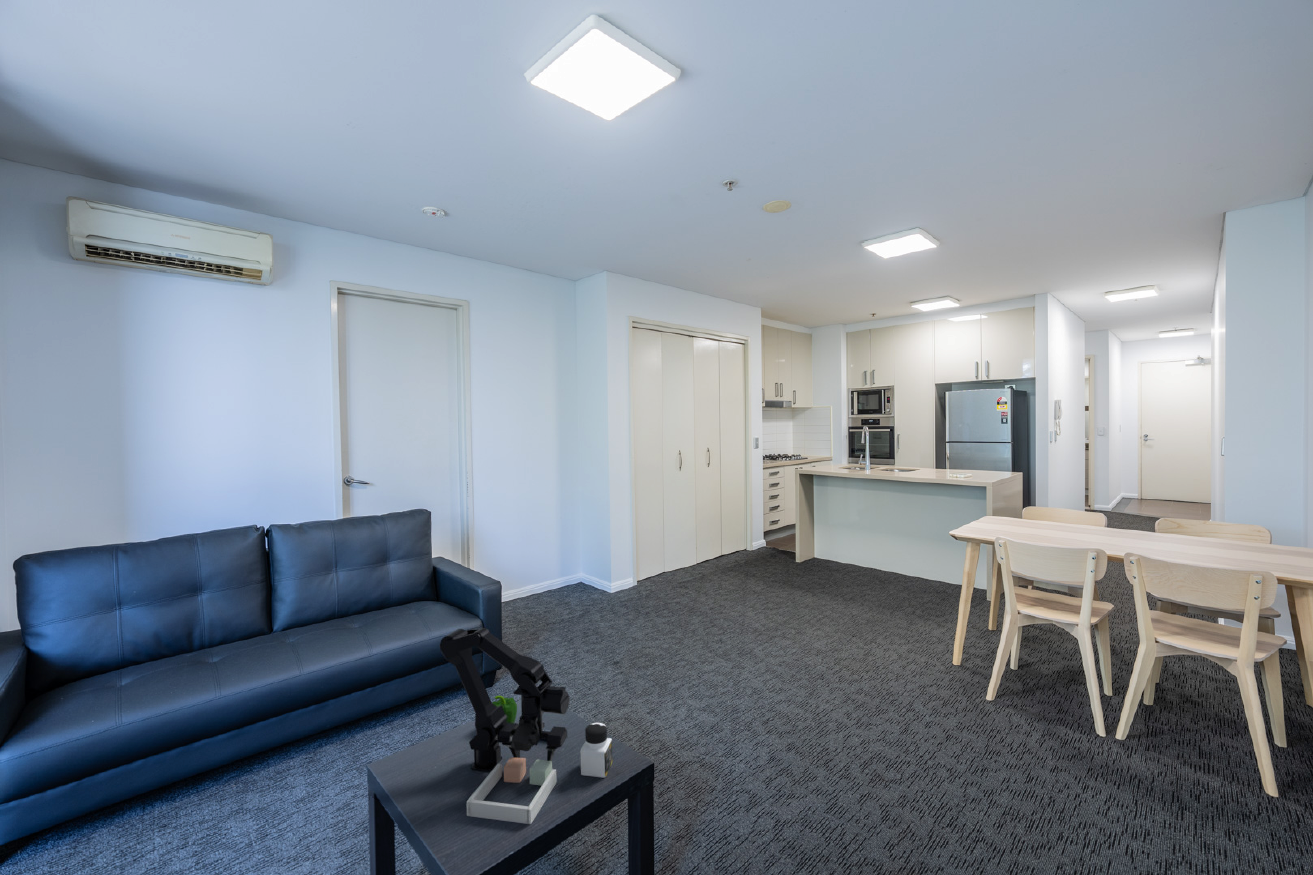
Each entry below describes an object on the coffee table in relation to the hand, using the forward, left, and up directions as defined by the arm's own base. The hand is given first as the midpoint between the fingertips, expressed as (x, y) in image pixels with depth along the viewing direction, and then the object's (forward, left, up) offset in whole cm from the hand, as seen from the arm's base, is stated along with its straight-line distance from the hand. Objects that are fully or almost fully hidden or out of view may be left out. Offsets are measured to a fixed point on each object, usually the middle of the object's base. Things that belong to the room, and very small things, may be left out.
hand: (533, 764), depth 151 cm
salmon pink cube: (-4, -4, -2) cm, 5 cm away
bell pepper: (-20, +21, -2) cm, 28 cm away
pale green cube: (+4, -4, -2) cm, 5 cm away
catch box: (0, -12, -2) cm, 12 cm away
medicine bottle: (+17, +4, -2) cm, 18 cm away
